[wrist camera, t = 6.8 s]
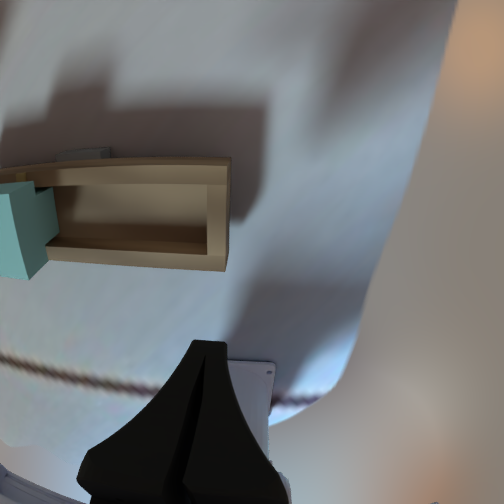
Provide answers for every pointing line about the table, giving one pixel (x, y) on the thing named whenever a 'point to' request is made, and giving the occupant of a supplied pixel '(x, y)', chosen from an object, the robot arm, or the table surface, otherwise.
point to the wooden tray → (136, 208)
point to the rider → (25, 228)
